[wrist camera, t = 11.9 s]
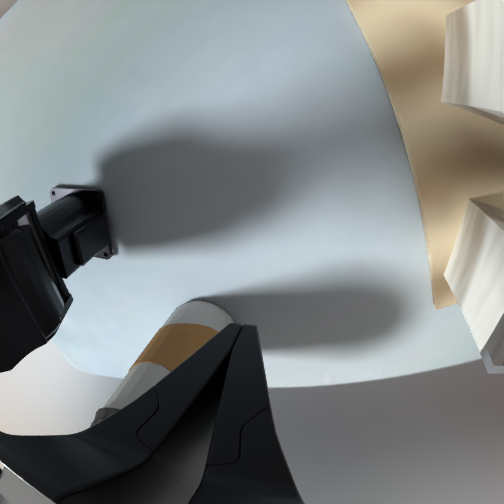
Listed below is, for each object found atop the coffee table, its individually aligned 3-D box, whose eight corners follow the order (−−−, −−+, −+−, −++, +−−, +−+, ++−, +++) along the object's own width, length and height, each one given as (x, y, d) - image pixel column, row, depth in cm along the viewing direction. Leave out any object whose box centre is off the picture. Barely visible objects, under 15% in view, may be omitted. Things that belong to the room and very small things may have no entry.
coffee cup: (149, 316, 29) (70, 439, 16) (198, 271, 25) (103, 427, 12) (212, 366, 31) (161, 494, 18) (269, 334, 27) (227, 495, 14)
